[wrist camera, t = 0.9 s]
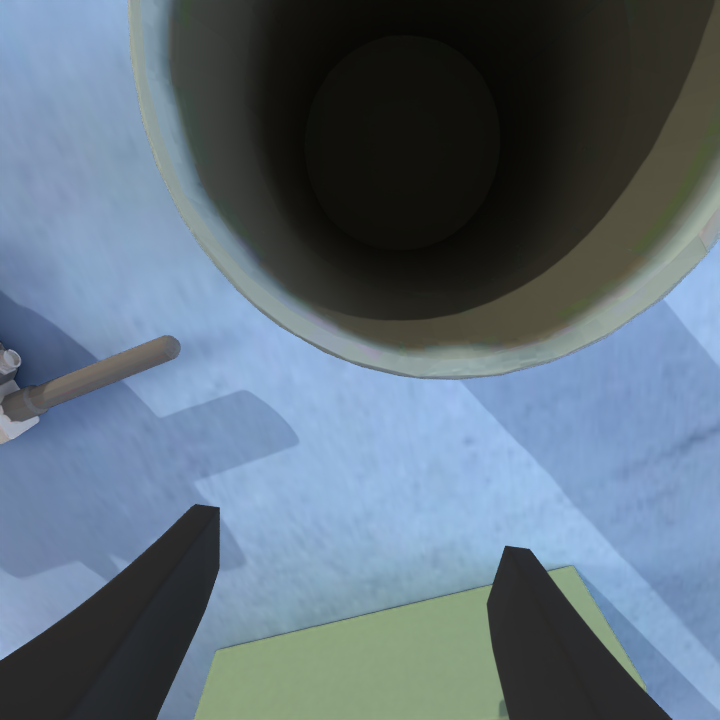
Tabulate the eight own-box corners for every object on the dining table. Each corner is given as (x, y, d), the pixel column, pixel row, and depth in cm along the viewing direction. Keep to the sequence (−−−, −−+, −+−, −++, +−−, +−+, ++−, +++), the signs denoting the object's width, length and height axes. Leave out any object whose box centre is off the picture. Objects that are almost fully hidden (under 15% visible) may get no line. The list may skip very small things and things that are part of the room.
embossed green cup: (314, 307, 20) (257, 441, 9) (232, 43, 17) (-25, -297, 6) (549, 243, 19) (832, 294, 8) (507, -46, 16) (871, -656, 5)
